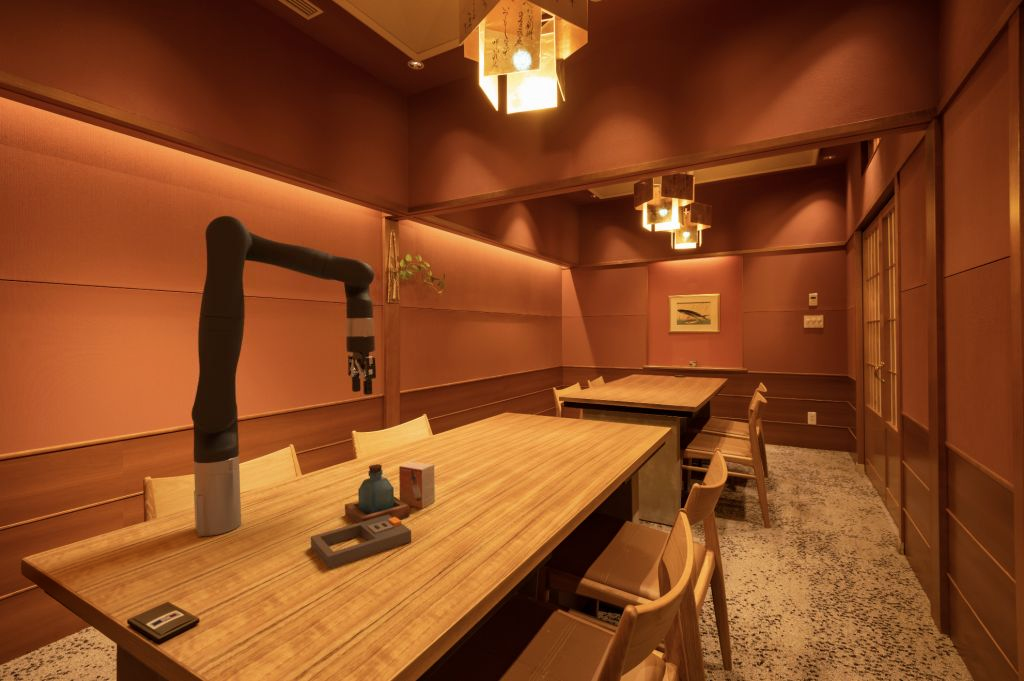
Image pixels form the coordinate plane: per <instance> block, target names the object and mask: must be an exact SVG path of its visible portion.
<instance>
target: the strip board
mask: <svg viewBox="0 0 1024 681" xmlns="http://www.w3.org/2000/svg"><path fill="white" fill-rule="evenodd" d="M359 537H361V538H363V539H364V541H363V542H361V543H357V544H354V545H351V546H348V547H344V548H341V549H337V550H335V551H333V549H332V548H331V547H330V546H331V545H335V544H338V543H342V542H346V541H349V540H352V539H355V538H359ZM410 542H411V543H412V530H411V529H409V528H408V527H407V526H406V525H405V524H403V523H402V519H398V518H396V517H391V516H390V515H384V516H381V517H377V518H374V519H370V520H367V521H363V522H360V523H356V524H355V523H354V524H350V525H346V526H343V527H339V528H336V529H333V530H329V531H325V532H322V533H319V534H314V535H312V536H310V548H311V550H312V551H313V552H314V553H315V555H316V557H318V558H319V559H320V561H321V562H322V563H323V564H324V566H325V567H326V568H327V569H328V570H330V569H335V568H337V567H340V566H343V565H345V564H348V563H351V562H354V561H358V560H361V559H364V558H366V557H368V556H372V555H374V554H378V553H382V552H384V551H387V550H390V549H393V548H396V547H399V546H402V545H404V544H408V543H410Z"/></svg>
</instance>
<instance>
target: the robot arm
mask: <svg viewBox="0 0 1024 681" xmlns="http://www.w3.org/2000/svg"><path fill="white" fill-rule="evenodd" d="M204 236H205V245H206V276H205V280H204V282H205V283H204V286H203V290H202V296H201V303H200V309H199V318H198V331H197V332H198V333H197V335H198V337H197V345H198V346H197V347H198V348H197V349H198V350H197V352H198V364H199V366H198V367H199V368H198V369H199V374H198V381H197V382H198V383H197V388H196V392H195V397H194V402H193V405H192V409H191V420H192V423H193V425H192V426H193V452H192V453H193V471H194V472H193V474H194V490H193V500H194V504H193V505H194V521H195V522H194V525H195V527H194V529H195V532H196V535H197V538H200V537H206V536H207V537H208V536H209V537H210V536H211V537H212V536H216V535H222V534H225V533H229V532H231V531H234V530H235V529H238V528H239V527H240V526H241V524H242V503H241V502H242V500H241V481H240V480H241V479H240V478H241V476H240V475H241V472H240V446H239V422H238V420H239V418H238V415H239V414H238V403H237V395H236V394H237V393H236V391H237V390H236V382H237V381H236V376H237V370H238V369H237V368H238V364H239V360H240V356H241V351H242V346H243V341H244V340H243V339H244V331H245V316H246V315H245V314H246V313H245V312H246V311H245V310H246V309H245V308H246V305H245V303H246V302H245V292H244V281H243V278H244V268H245V262H246V261H249V262H256V263H262V264H266V265H272V266H276V267H279V268H283V269H285V270H288V271H293V272H296V273H300V274H302V275H307V276H310V277H313V278H318V279H322V280H325V281H326V280H327V281H338V282H340V283H343V285H344V286H343V287H344V292H345V293H344V294H345V299H346V305H345V306H346V323H345V338H346V339H345V340H346V341H345V342H346V345H345V346H346V352H347V353H350V354H349V355H348V356H347V369H348V370H347V375H348V377H350V379H351V391H352V392H353V393H355V392H356V393H357V392H360V391H361V376H362V380H363V381H362V383H363V384H362V386H363V389H362V390H363V391H362V392H363V395H365V396H368V395H372V394H373V381H374V380H375V379H376V378H377V373H376V372H377V370H376V369H377V368H376V366H377V365H376V357H375V356H372V355H371V356H370V353H371V352H375V350H376V344H375V343H376V342H375V337H376V336H375V333H376V332H375V323H374V322H375V321H374V307H373V306H374V305H373V301H372V299H371V298H370V297H371V296H370V285H371V284H372V283H373V282H374V278H375V272H374V269H373V267H372V266H371V265H369V264H368V263H367V262H364V261H362V260H358V259H355V258H354V259H353V258H349V257H343V256H339V255H338V256H337V255H334V254H331V253H328V252H325V251H322V250H318V249H315V248H311V247H307V246H304V245H303V246H302V245H295V244H289V243H283V242H279V241H275V240H271V239H267V238H264V237H263V236H259V235H258V234H255V233H252V232H251V231H249V229H248V228H247V226H246V225H245V224H244V223H243V222H242V221H241V220H239V219H238V218H235V217H234V216H231V215H222V216H218V217H216V218H213V220H211V221H210V222H209V223H208V225H207V227H206V228H205V233H204ZM351 353H352V354H351Z"/></svg>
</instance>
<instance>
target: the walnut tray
mask: <svg viewBox="0 0 1024 681" xmlns="http://www.w3.org/2000/svg"><path fill="white" fill-rule="evenodd" d="M344 514H345V517H347V518H348V519H349V520H350V521H351V522H352V523H354V524H356V523H360V522H363V521H367V520H370V519H374V518H377V517H381V516H384V515H390V516H391V517H396V518H398V519H399V520H403V519H406V518H409V517H410V505H407V504H405V503H404V502H402V501H401V500H400V498H397V497H396V496H394V508H390V509H386V510H383V511H379V512H376V513H372V514H368V515H366V514H364V513H363V512H362V511H360V510H359V500H357V501H354V502H348V503H345V504H344Z"/></svg>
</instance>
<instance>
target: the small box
mask: <svg viewBox="0 0 1024 681" xmlns="http://www.w3.org/2000/svg"><path fill="white" fill-rule="evenodd" d="M398 469H399V471H398V472H399V473H398V474H399V475H398V476H399V500H401V501H402V502H404V503H405V504H407V505H409V507H410V506H411V507H415V508H419V509H421V510H422V509H424V508H427V507H428V506H429V505H431V504H434V503H435V500H436V496H435V495H436V494H435V493H436V492H435V490H436V488H435V486H436V485H435V484H436V482H435V480H436V479H435V478H436V477H435V464H432V463H425V462H418V461H413V460H412V461H409V462H406V463H404V464H401V465H399V467H398Z"/></svg>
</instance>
